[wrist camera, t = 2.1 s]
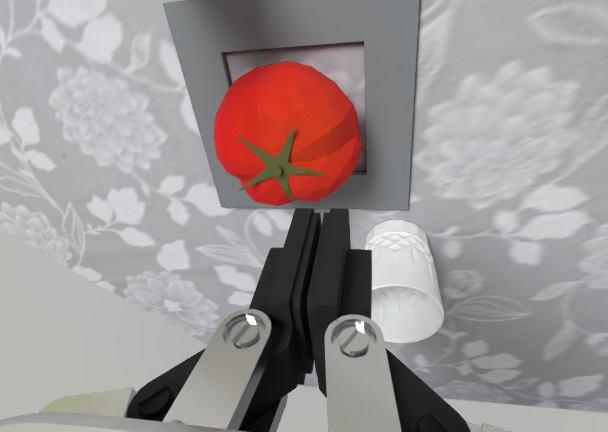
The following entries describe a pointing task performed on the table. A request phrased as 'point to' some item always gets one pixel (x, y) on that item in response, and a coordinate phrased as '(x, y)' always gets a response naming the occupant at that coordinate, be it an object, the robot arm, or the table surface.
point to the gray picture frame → (302, 32)
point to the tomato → (287, 134)
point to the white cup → (403, 282)
